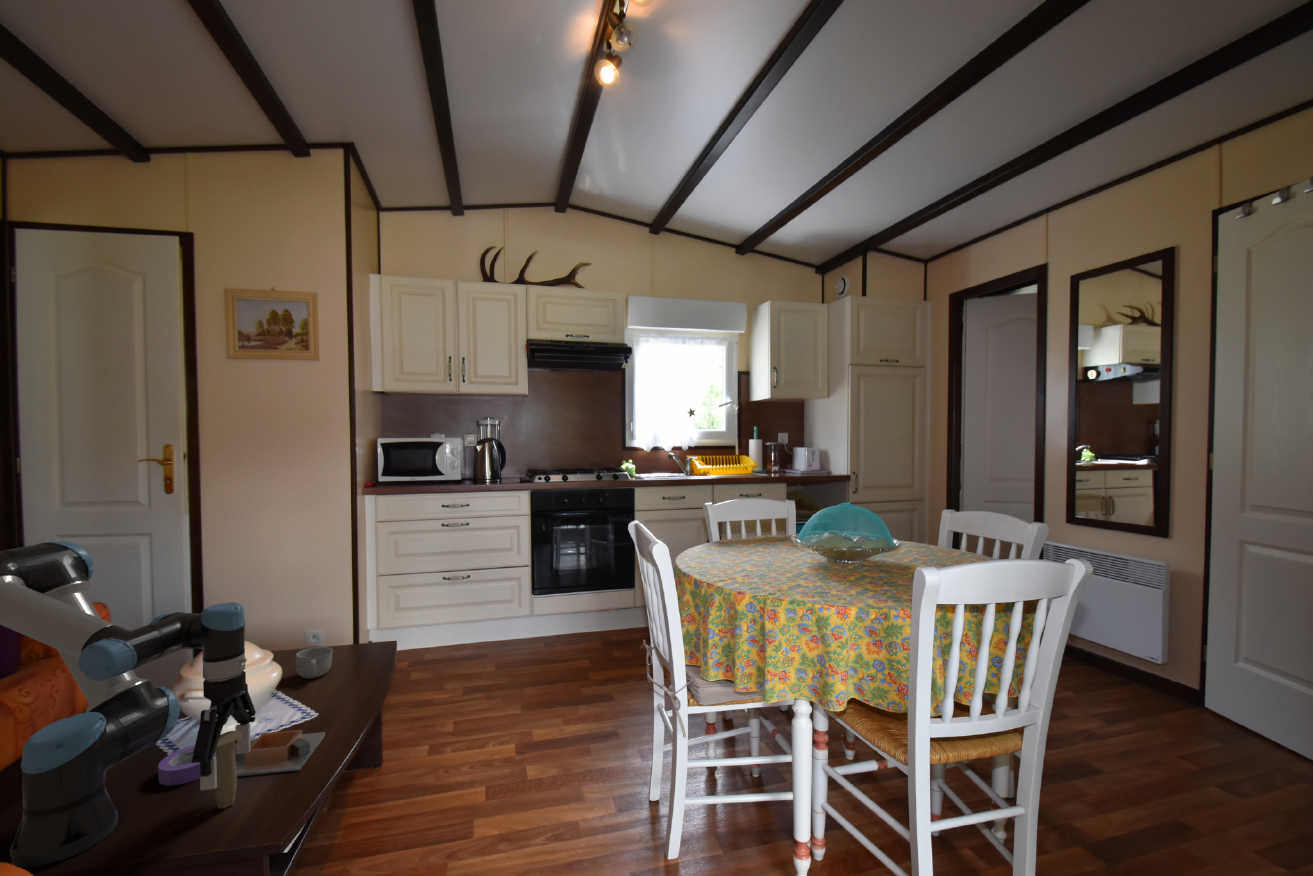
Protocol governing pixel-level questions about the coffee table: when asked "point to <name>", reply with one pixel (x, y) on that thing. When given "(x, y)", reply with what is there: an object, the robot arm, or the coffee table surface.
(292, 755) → the coupling base
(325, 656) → the teacup
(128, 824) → the coffee table surface
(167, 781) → the masking tape
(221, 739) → the handle
